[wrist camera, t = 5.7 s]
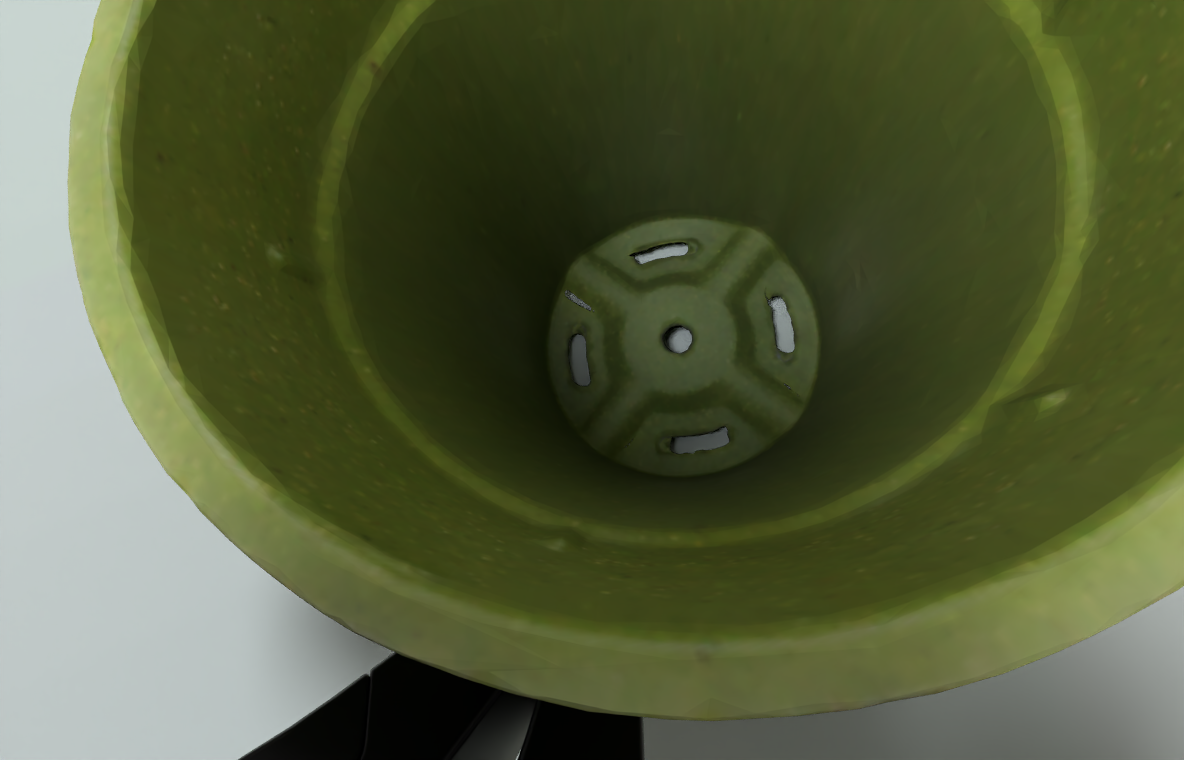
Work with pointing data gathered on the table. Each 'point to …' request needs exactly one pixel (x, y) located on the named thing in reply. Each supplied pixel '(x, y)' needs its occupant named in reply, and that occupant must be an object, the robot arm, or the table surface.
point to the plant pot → (658, 326)
